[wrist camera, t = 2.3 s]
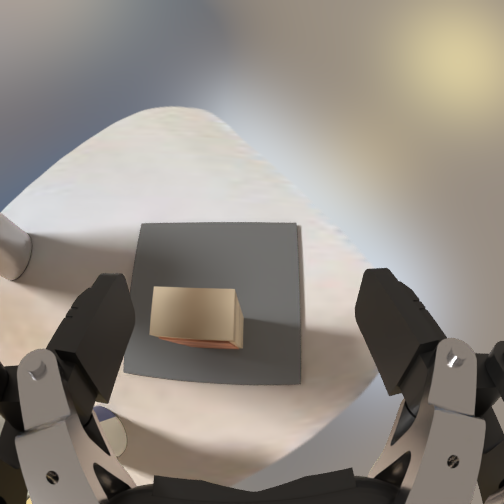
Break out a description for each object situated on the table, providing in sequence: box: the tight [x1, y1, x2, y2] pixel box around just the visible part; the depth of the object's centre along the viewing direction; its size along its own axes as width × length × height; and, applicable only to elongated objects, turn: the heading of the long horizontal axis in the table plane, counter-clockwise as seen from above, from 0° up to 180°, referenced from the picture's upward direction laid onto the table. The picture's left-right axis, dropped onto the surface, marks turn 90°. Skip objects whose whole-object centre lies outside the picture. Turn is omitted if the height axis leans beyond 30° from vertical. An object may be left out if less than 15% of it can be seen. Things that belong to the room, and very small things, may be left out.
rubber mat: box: [124, 222, 301, 385], centre depth 33 cm, size 21×20×1 cm
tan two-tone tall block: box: [149, 286, 244, 349], centre depth 25 cm, size 6×4×13 cm, turn 89°
